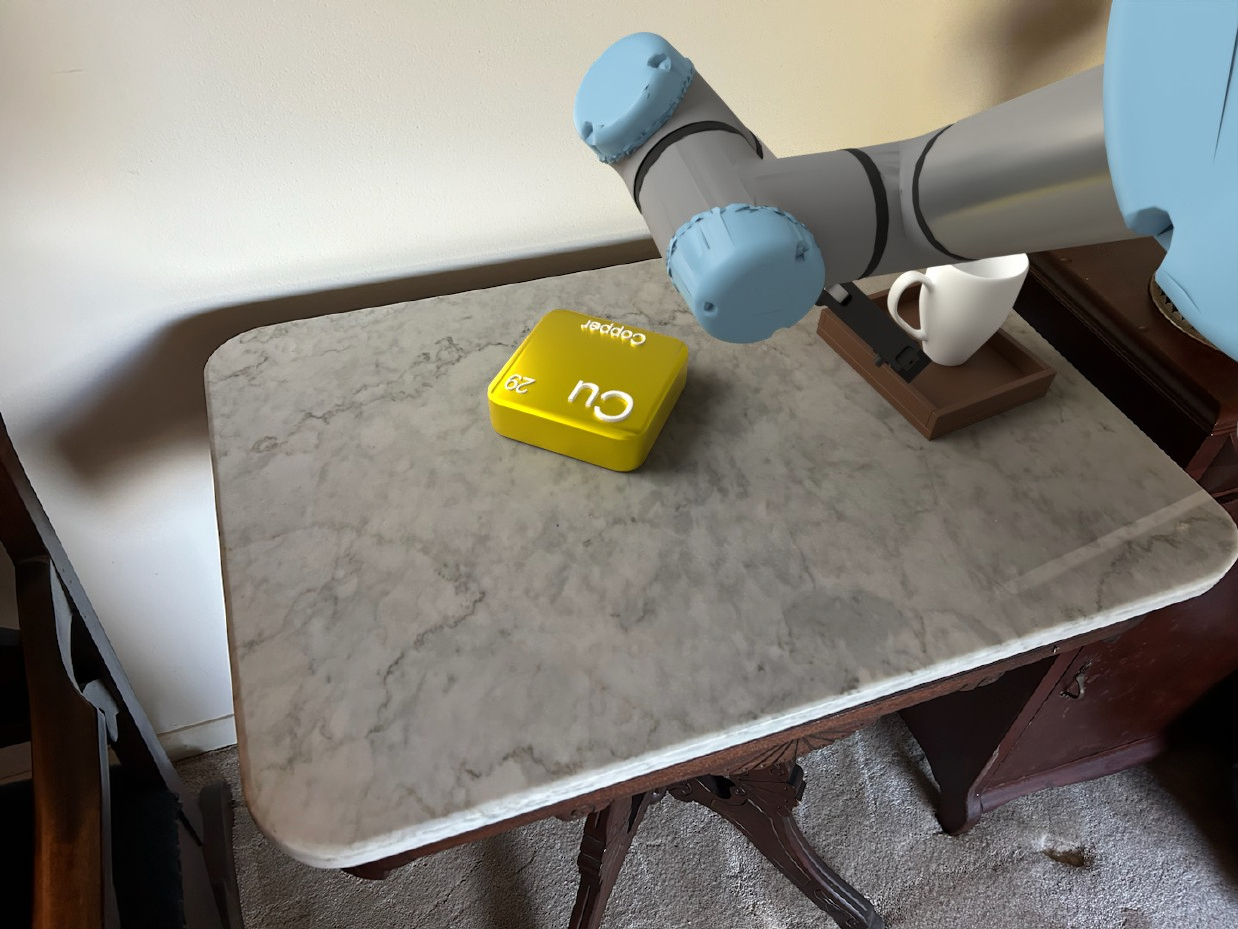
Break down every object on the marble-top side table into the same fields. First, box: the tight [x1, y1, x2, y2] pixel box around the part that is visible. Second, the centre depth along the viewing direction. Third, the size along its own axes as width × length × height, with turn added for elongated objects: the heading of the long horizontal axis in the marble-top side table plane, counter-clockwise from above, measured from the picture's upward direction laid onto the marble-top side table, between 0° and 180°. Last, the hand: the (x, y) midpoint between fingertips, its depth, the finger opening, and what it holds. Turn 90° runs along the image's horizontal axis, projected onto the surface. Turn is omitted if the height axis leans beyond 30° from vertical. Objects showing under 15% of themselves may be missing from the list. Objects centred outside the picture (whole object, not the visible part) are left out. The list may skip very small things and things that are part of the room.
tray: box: [815, 282, 1058, 441], centre depth 84 cm, size 18×15×3 cm
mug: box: [888, 253, 1030, 366], centre depth 80 cm, size 12×8×11 cm
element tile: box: [487, 308, 690, 472], centre depth 78 cm, size 15×15×5 cm
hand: (868, 325), depth 76 cm, fingers open, 13 cm apart
